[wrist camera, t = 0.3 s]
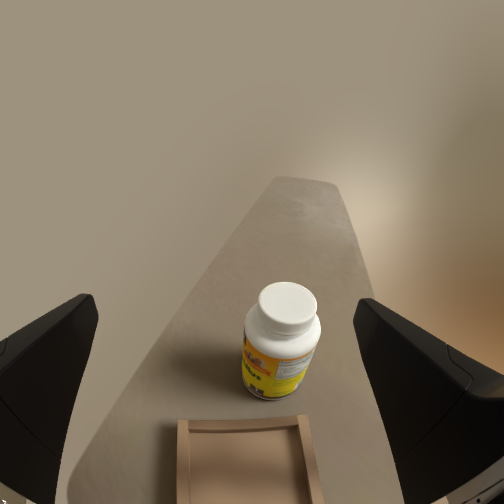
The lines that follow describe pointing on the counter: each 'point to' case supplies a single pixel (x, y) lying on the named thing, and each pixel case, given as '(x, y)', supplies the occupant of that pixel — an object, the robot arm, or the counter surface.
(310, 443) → the walnut tray
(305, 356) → the supplement bottle
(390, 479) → the counter surface
